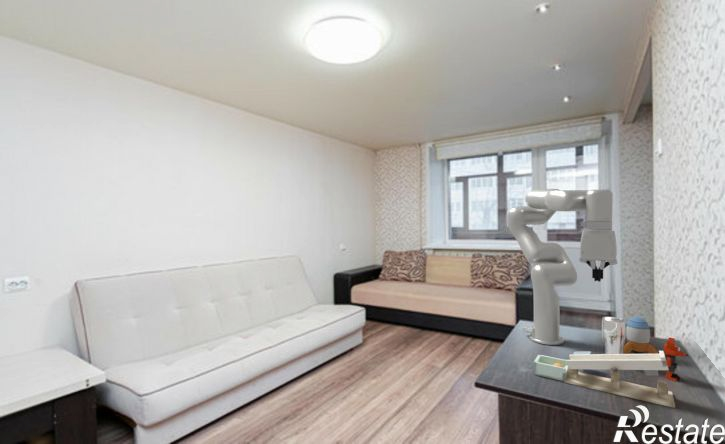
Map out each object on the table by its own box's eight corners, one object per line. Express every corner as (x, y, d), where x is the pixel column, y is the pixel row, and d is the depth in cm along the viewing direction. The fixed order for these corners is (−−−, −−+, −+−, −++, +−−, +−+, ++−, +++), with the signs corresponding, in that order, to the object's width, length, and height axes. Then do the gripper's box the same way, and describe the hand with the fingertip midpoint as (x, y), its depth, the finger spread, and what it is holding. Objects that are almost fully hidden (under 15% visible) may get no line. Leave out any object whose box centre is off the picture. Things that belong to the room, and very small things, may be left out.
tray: (533, 374, 116) (533, 362, 116) (538, 366, 122) (538, 354, 122) (565, 381, 110) (565, 368, 110) (568, 372, 117) (568, 360, 117)
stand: (563, 382, 110) (563, 357, 110) (567, 371, 118) (567, 348, 118) (675, 408, 94) (675, 380, 94) (671, 393, 102) (671, 367, 102)
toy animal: (686, 386, 107) (686, 346, 107) (662, 380, 111) (662, 341, 111) (688, 377, 112) (689, 339, 112) (666, 372, 116) (666, 335, 116)
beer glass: (630, 366, 121) (630, 322, 121) (607, 365, 122) (607, 321, 122) (619, 358, 128) (619, 316, 128) (598, 357, 129) (598, 316, 129)
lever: (570, 375, 110) (566, 357, 111) (576, 360, 122) (572, 344, 123) (670, 377, 96) (665, 357, 97) (666, 359, 108) (661, 342, 109)
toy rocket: (626, 351, 137) (637, 314, 136) (660, 365, 128) (672, 325, 127) (615, 353, 132) (625, 314, 130) (649, 368, 123) (661, 326, 122)
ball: (551, 364, 115) (562, 365, 113) (553, 360, 117) (564, 362, 115) (552, 374, 115) (563, 376, 113) (553, 370, 117) (565, 372, 115)
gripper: (571, 226, 122) (570, 279, 123) (625, 227, 113) (624, 285, 113) (574, 225, 128) (573, 276, 129) (626, 226, 119) (625, 281, 119)
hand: (597, 280), depth 121 cm, fingers closed
